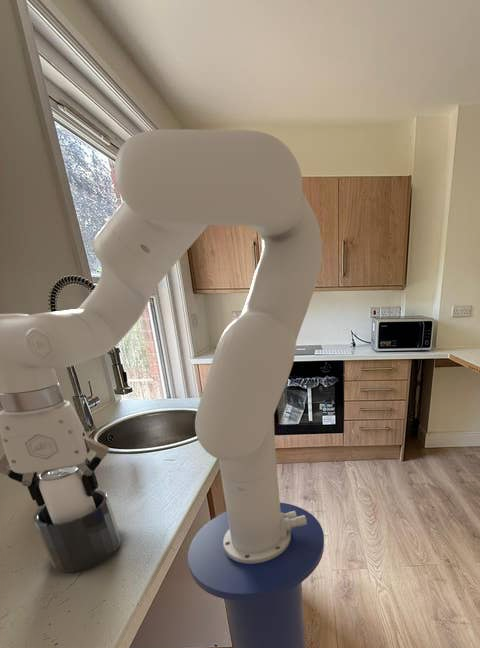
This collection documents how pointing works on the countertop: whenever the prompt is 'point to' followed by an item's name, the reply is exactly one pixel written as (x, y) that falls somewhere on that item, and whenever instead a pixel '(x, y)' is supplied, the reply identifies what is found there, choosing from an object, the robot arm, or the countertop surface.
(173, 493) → the countertop surface
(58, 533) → the open gray tub
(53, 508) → the can
